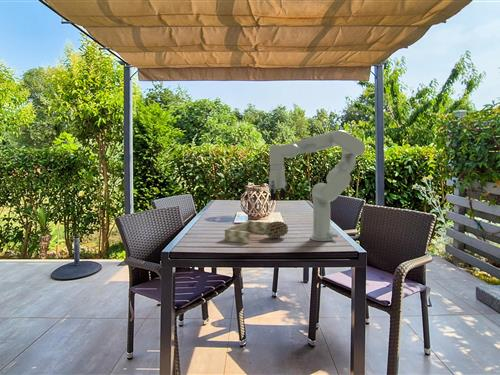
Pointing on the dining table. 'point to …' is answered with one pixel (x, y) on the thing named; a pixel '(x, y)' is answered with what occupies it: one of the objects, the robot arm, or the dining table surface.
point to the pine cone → (274, 230)
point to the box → (244, 231)
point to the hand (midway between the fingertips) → (278, 199)
